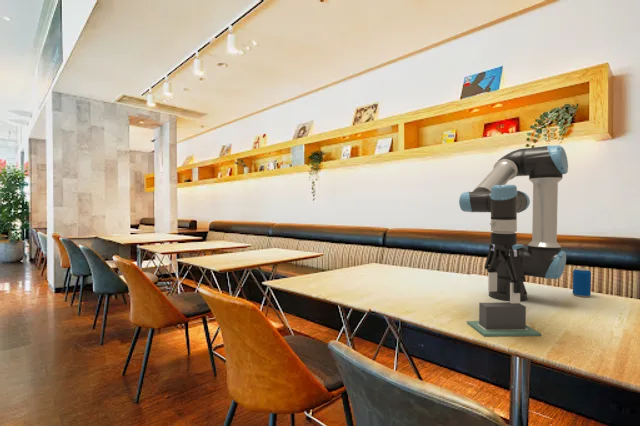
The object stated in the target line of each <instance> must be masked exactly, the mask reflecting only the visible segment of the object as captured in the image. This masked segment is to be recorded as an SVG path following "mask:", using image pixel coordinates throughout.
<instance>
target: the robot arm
mask: <svg viewBox="0 0 640 426" xmlns="http://www.w3.org/2000/svg"><path fill="white" fill-rule="evenodd" d="M567 156H568V155H567V153H566V150H565V148H564V147H563V146H561V145H544V146H535V147H527V148H525V147H524V148H518V149H516V150H512V151H509V152H508V153H507V154H505V155H503V156H502V157H500V158H499V159H498V160H497V161H496V162H495V163H494V165H493V169H492V170H491V171H490V172H489V173H488V174H487V175H486V176H485V178H484V179H483V180H481V182H480V183H479V184H478V185H477V186H476V187H475V188H474V189H473V190H472V191H466V192H465V191H464V192H462V193H461V194H460V197H459V201H458V205H459V208H460V210H461V211H462V212H465V213H490V223H489V224H490V231H491V233H490V244H489V247H488V249H489V250H488V253H487V257H486V260H485V264H484V270H486V271H487V275H488V277H487V279H488V280H487V281H488V284H487V285H488V296H489V297H490V298H493V299H497V300H503V301H508V302H510V303H520V304H521V302H523V301H526V300H528V292H527V289H526V287H525V283H526V280H527V279H526V276H527V277H533V278H534V277H535V278H542V279H545V280H548V279H550V280H558V279H560V278H561V277H562V275H563V274H564V271H565V268H566V264H567V253H566V251H564V250H562V245H560V244H559V242H557V241H558V240H557V239H558V197H559V195H558V194H559V193H558V191H559V190H558V189H559V182H561V181H562V180H563V179H564V178H563V177H564V176H563V175H566V174H567V173H568V172H569V162H568V157H567ZM526 176H528V180H529V181H530V183H532V233H531V234H532V237H531V241H530V242H529V243H528V244H527V248H526V247H524V244H523V243H521V244H520V243H517V242H518V241H517V239H518V238H517V236H518V235H517V233H516V232H517V229H518V226H517V225H518V221H517V220H518V218H517V215H518V214H520V213H522V212H524V211H526V210H527V209H528V208H529V206H530V202H531V200H530V197H529V195H528V194H527V193H525V192H524V191H521V190H518V189H517V186H516V185H515V184H507V183H508V182H509V181H510V180H511V181H512V180H513V179H514V178H515V177H516V178H517V177H526Z"/></svg>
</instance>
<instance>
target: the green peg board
mask: <svg viewBox="0 0 640 426" xmlns="http://www.w3.org/2000/svg"><path fill="white" fill-rule="evenodd" d="M466 324H467V325H469V326H470V327H471V328H473V330H475V331H476V332H477V333H479V334H480V335H481V336H482V337H542V333H541V332H540V331H538V330H536V329H534V328H533V327H530V326H529V325H526V329H510V330H486V329H484V328H483V327H482V326H480V325H479V320H467V321H466Z"/></svg>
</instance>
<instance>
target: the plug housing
mask: <svg viewBox="0 0 640 426" xmlns="http://www.w3.org/2000/svg"><path fill="white" fill-rule="evenodd" d="M478 305H479V306H478V307H479V308H478V321H479V325H480V326H482V327H483V328H484V329H486V330H510V329H526V318H527V316H526V315H527V307H526V305H524V304H521V302H520V303H510V301H508V302H497V301H496V302H479V304H478Z"/></svg>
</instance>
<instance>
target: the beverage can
mask: <svg viewBox="0 0 640 426" xmlns="http://www.w3.org/2000/svg"><path fill="white" fill-rule="evenodd" d="M573 269H574V270H572V294H573V295H574V296H575V297H578V296H579V297H578V298H589V297H590V296H591V291H592V287H591V286H592V285H591V284H592V283H591V282H592V273H591V270H590V269H589V268H583V267H581V268H580V267H575V268H573Z"/></svg>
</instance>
